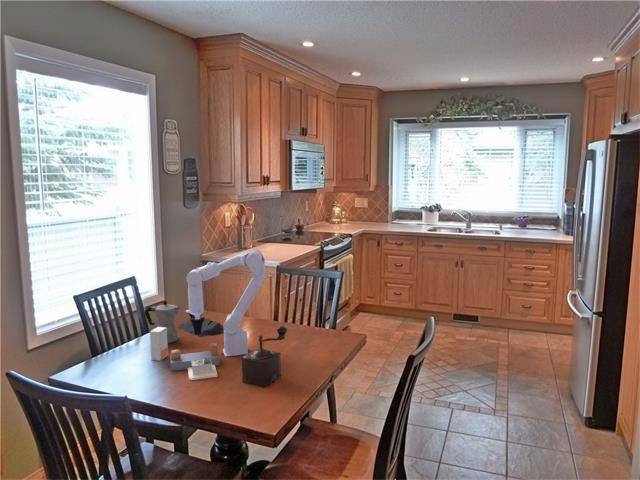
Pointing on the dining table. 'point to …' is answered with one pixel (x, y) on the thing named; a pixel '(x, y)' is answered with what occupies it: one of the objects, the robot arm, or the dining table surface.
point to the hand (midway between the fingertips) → (197, 331)
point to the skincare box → (158, 343)
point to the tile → (202, 376)
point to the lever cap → (201, 366)
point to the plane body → (193, 358)
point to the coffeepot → (165, 319)
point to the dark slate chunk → (207, 327)
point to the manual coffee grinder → (263, 363)
